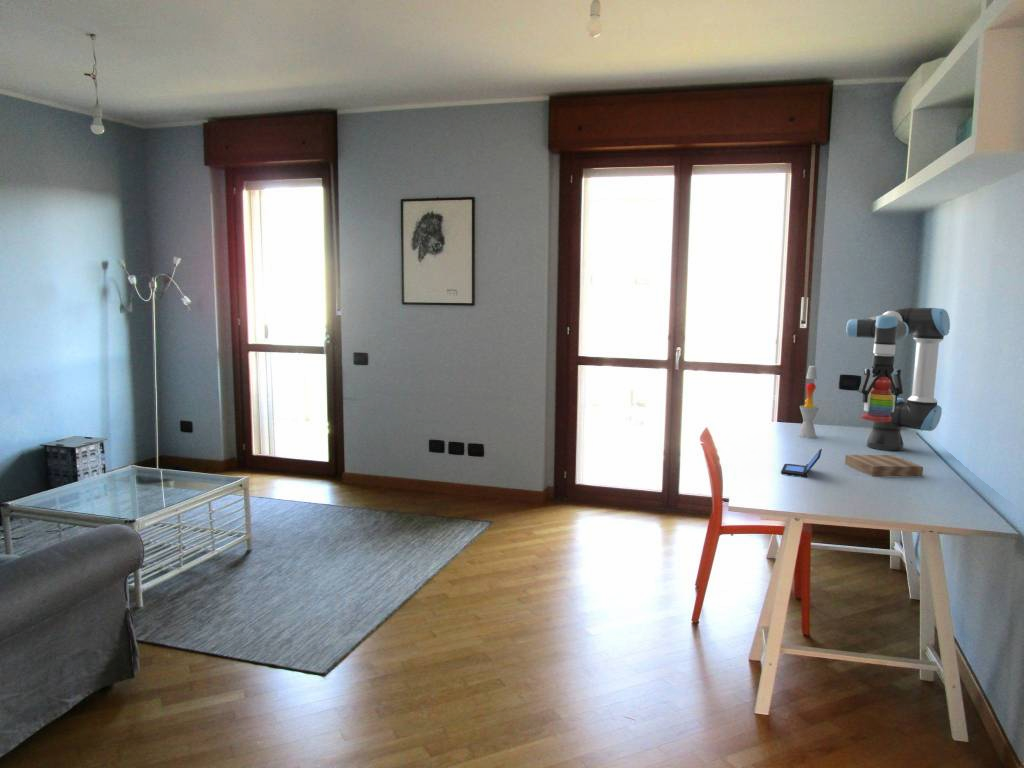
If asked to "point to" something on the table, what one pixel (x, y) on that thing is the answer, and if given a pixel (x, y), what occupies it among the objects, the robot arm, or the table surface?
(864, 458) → the walnut plinth
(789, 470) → the handheld game console
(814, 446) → the table surface
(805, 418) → the lava lamp
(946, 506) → the table surface
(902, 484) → the table surface
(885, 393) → the stacking bear
